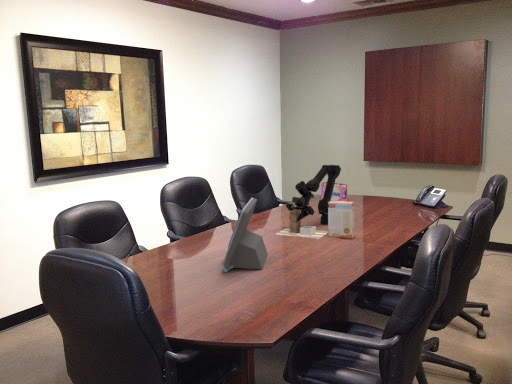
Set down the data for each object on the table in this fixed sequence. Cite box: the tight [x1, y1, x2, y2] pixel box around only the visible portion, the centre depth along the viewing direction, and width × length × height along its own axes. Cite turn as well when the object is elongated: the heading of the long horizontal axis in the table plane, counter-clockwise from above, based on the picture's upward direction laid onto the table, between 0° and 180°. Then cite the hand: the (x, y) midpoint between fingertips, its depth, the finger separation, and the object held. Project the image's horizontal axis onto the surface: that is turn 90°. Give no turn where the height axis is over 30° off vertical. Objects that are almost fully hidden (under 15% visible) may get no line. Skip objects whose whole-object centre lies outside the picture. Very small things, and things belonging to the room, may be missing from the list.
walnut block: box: [289, 210, 302, 233], centre depth 290 cm, size 4×4×13 cm
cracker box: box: [327, 200, 355, 240], centre depth 278 cm, size 14×6×21 cm, turn 65°
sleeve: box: [300, 225, 317, 236], centre depth 286 cm, size 7×7×4 cm
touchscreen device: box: [222, 197, 269, 273], centre depth 236 cm, size 35×20×30 cm, turn 172°
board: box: [275, 227, 328, 240], centre depth 289 cm, size 18×28×1 cm, turn 62°
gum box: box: [320, 181, 348, 202], centre depth 394 cm, size 24×8×14 cm, turn 38°
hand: (293, 220), depth 289 cm, fingers open, 6 cm apart
